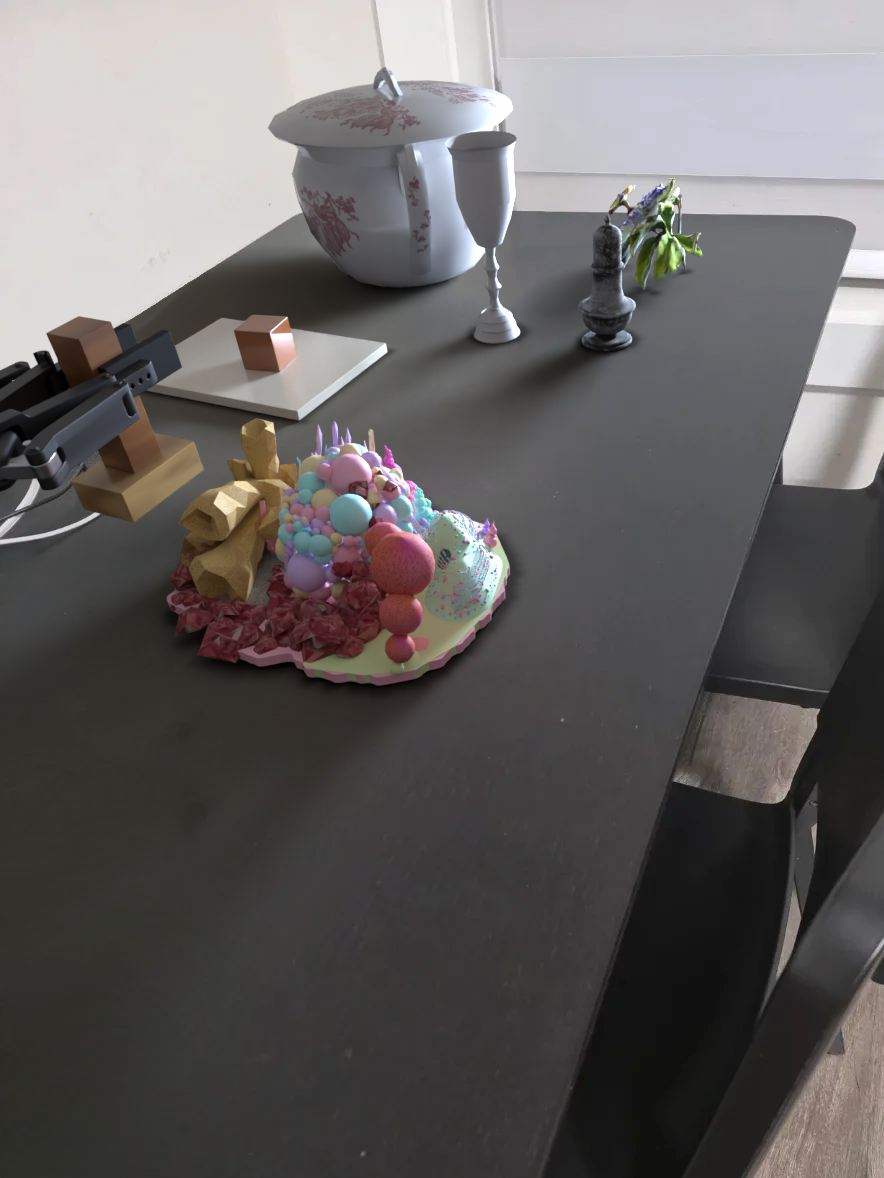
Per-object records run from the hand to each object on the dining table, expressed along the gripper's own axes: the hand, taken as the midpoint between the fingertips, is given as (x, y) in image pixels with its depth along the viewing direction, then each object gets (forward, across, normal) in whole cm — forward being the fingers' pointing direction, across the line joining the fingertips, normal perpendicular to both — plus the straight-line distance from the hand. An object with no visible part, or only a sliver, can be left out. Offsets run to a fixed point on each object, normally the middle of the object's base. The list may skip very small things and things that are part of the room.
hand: (152, 345), depth 66 cm
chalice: (+38, +8, -14) cm, 42 cm away
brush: (-5, 0, -9) cm, 11 cm away
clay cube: (+22, -10, -12) cm, 27 cm away
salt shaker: (+40, +20, -14) cm, 47 cm away
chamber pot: (+52, -11, -14) cm, 55 cm away
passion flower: (+60, +18, -14) cm, 65 cm away
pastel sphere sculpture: (-5, +17, -13) cm, 22 cm away
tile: (+22, -12, -13) cm, 29 cm away
